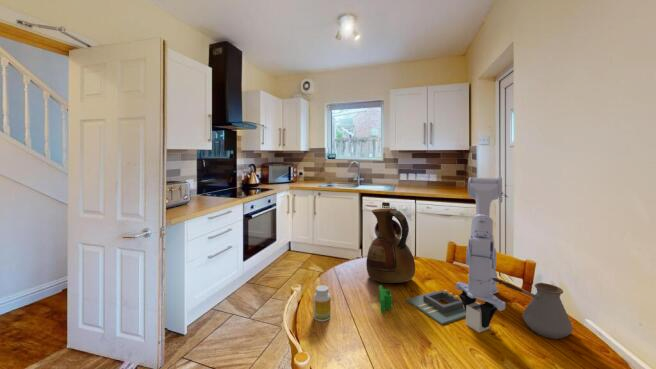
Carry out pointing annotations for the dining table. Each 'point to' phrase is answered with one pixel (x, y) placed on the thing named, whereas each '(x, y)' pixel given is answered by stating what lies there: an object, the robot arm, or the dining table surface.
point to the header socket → (439, 306)
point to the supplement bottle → (322, 303)
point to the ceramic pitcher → (390, 250)
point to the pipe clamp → (385, 299)
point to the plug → (475, 317)
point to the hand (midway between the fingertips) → (477, 321)
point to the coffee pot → (545, 311)
